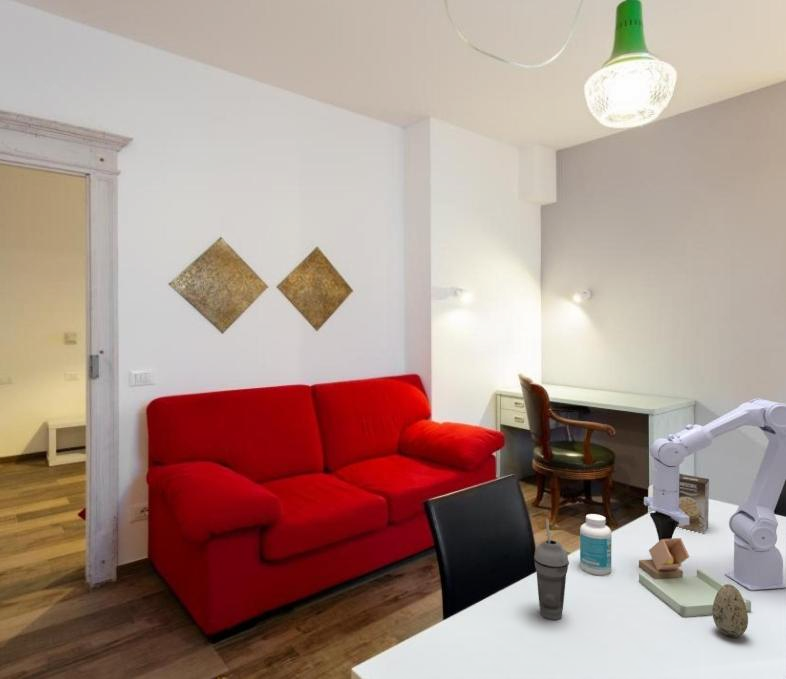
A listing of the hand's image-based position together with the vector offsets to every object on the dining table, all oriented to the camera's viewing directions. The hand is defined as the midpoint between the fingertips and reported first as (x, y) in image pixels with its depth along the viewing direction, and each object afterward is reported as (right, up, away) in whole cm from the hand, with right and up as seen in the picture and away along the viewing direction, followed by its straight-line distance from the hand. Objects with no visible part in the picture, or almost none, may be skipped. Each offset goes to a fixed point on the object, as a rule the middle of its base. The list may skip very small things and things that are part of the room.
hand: (664, 543), depth 127 cm
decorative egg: (0, -9, -24) cm, 26 cm away
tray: (+1, -8, -9) cm, 12 cm away
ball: (0, -4, +1) cm, 4 cm away
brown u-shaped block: (0, -5, +1) cm, 5 cm away
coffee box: (+24, -8, +30) cm, 39 cm away
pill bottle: (-15, -9, +4) cm, 18 cm away
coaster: (0, -8, +2) cm, 9 cm away
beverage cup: (-33, -9, -16) cm, 38 cm away
